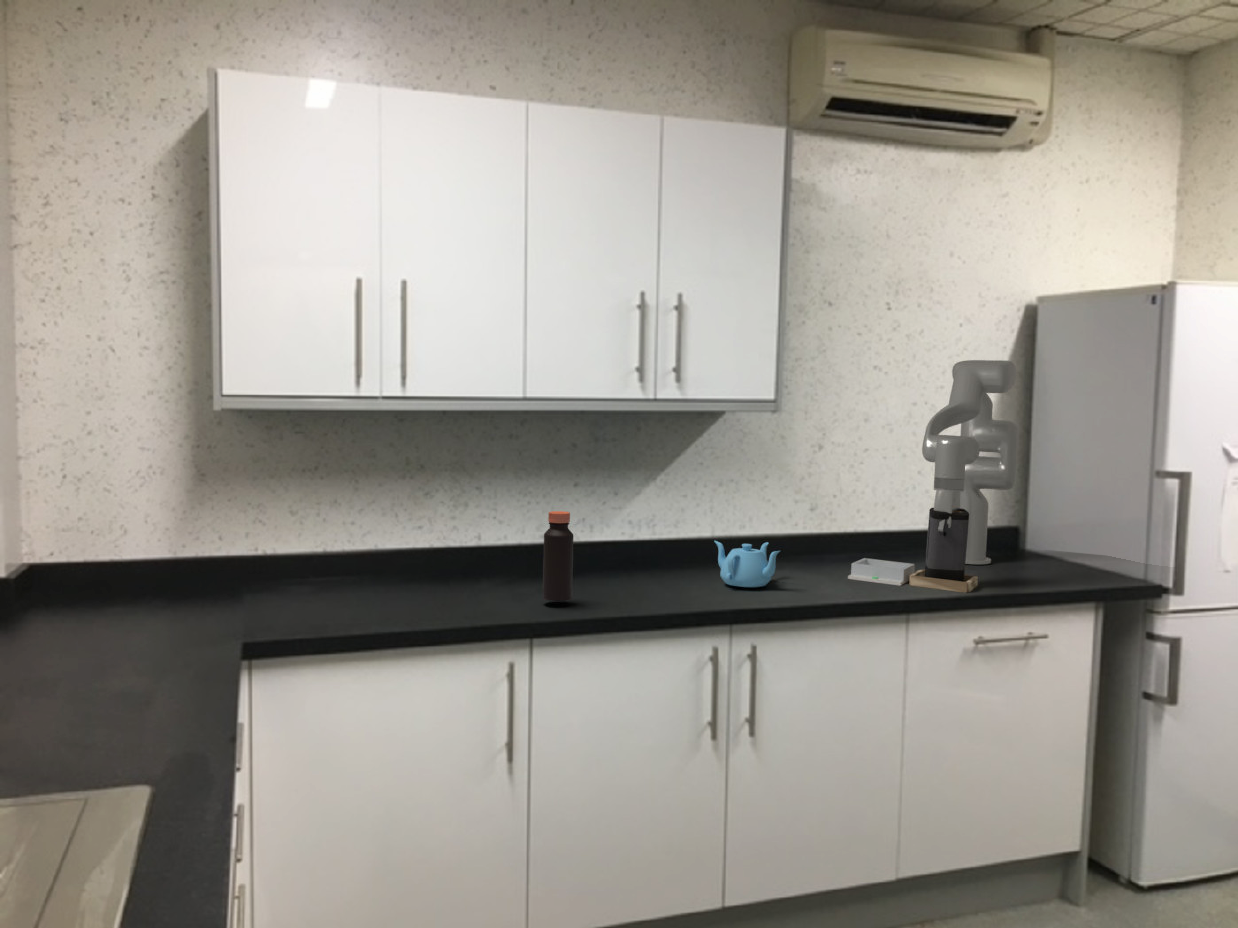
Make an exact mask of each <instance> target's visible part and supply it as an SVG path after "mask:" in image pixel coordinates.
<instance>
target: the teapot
mask: <svg viewBox="0 0 1238 928" xmlns="http://www.w3.org/2000/svg"><path fill="white" fill-rule="evenodd" d="M713 542H714V543H715V545H716V546H717V548H718V556H717V561H718V563H717V564H718V566H719V569H720V573H719V574H720V578H721V580H723V582H724V583H725V584H727V585H729V586H734V587H742V588H759V587H765V586H767V584H768V583H769V582H770V581H771V579H772V576H773V575H774V574H775V572H776V566H777V564H776V563H777V562H776V559H777V555H778V554H779V553H780V552H781V550H777V551H776V550H775V551H772V552H771V553H770V555H769V559H768V558H767V548H768V545H769V542H768V541H767V542H764V543H763V544H762V545H761V546H760V549H756V548H752V547H753V544H752V543H742V544H741V547H742V548H741V547H738V548H732V549H730V551H729V553H728V554H727V556H726V554H725V548H724V545H723V543H721V542H719V541H718V540H714V541H713Z"/></svg>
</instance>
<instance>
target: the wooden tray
mask: <svg viewBox="0 0 1238 928" xmlns="http://www.w3.org/2000/svg"><path fill="white" fill-rule="evenodd" d="M978 580H979V576H977V575H972V574H965V573H964V582H961V581H953V580H945V579H937V578H929V577H925V569H919V570H917V571H914V573H913V574H911V575H910V581H909V582H908V583H909V586H912V587H920V588H929V589H934V590H936V589H937V590H943V591H949V592H950V591H951V592H958V593H970V592H972V591H973V590H974V589H975V588H976V587H978V584H979V583H978V582H979V581H978Z"/></svg>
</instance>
